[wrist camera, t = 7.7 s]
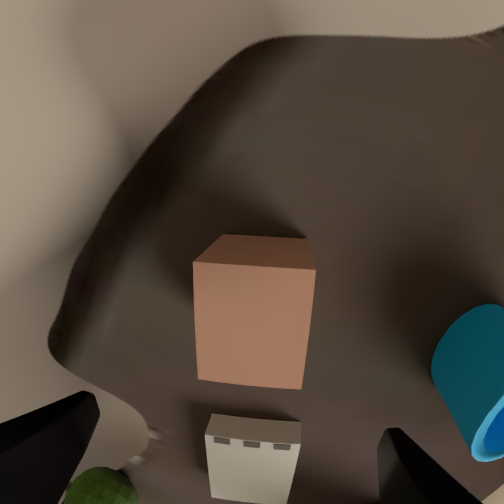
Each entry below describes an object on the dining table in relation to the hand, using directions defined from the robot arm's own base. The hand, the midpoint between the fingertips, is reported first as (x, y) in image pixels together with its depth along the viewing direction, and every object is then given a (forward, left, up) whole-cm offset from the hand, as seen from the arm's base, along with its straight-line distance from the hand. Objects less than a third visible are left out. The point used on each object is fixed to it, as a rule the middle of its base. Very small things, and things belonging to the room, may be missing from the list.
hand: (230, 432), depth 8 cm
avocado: (-26, +16, -12) cm, 33 cm away
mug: (-6, -18, -12) cm, 22 cm away
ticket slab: (-16, 0, -12) cm, 20 cm away
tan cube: (0, 0, -12) cm, 12 cm away
